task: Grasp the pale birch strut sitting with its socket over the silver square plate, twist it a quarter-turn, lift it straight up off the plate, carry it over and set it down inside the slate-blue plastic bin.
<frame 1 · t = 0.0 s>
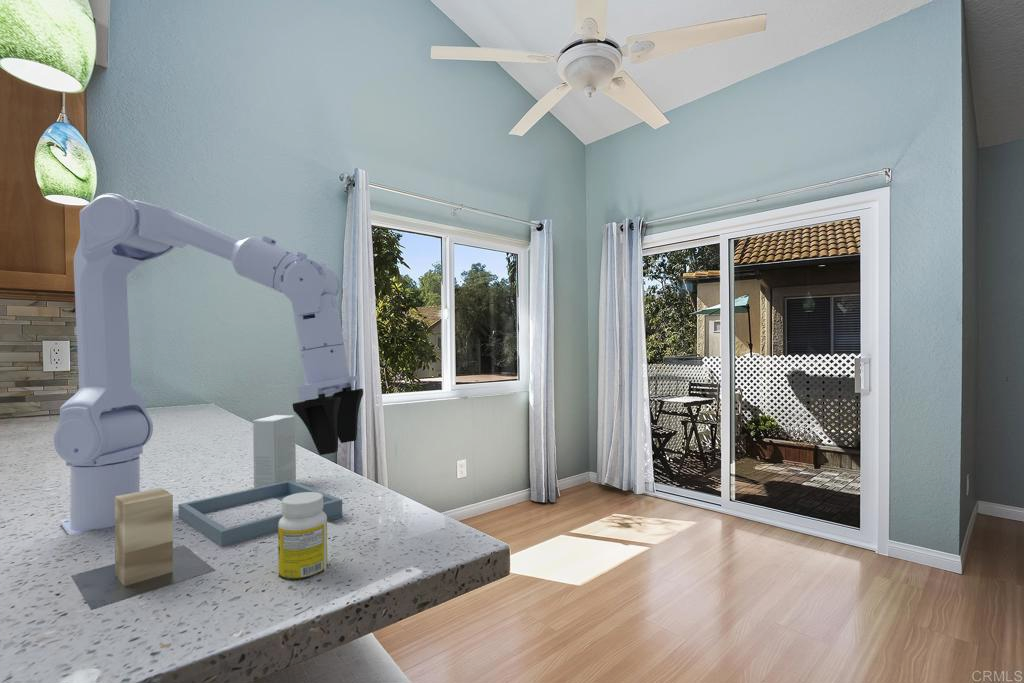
hand: (339, 447, 66), 11 cm above the kitchen counter, tool pointing down, fingers open, 7 cm apart
bin: (261, 519, 68), on the kitchen counter
strut: (143, 572, 51), point 1 cm above the kitchen counter, touching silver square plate
supplement bottle: (303, 579, 51), on the kitchen counter
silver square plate: (143, 580, 51), on the kitchen counter
skincare box: (275, 487, 85), on the kitchen counter
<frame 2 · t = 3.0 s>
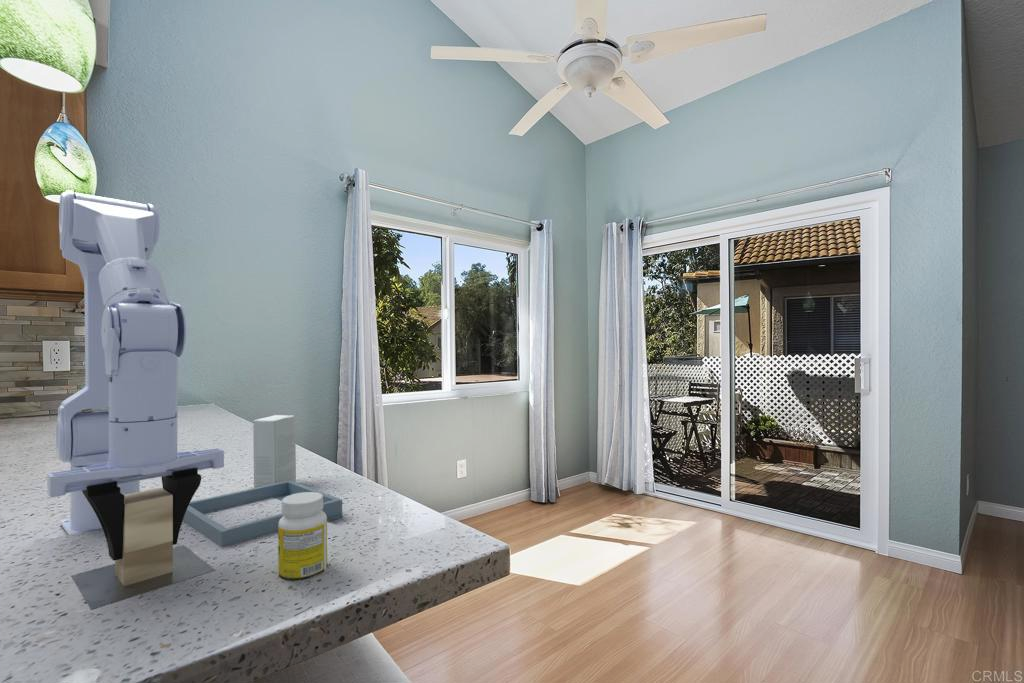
hand: (143, 549, 51), 3 cm above the kitchen counter, tool pointing down, fingers closed on strut, 4 cm apart
strut: (143, 572, 51), point 1 cm above the kitchen counter, touching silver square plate, gripper
everything else where it was.
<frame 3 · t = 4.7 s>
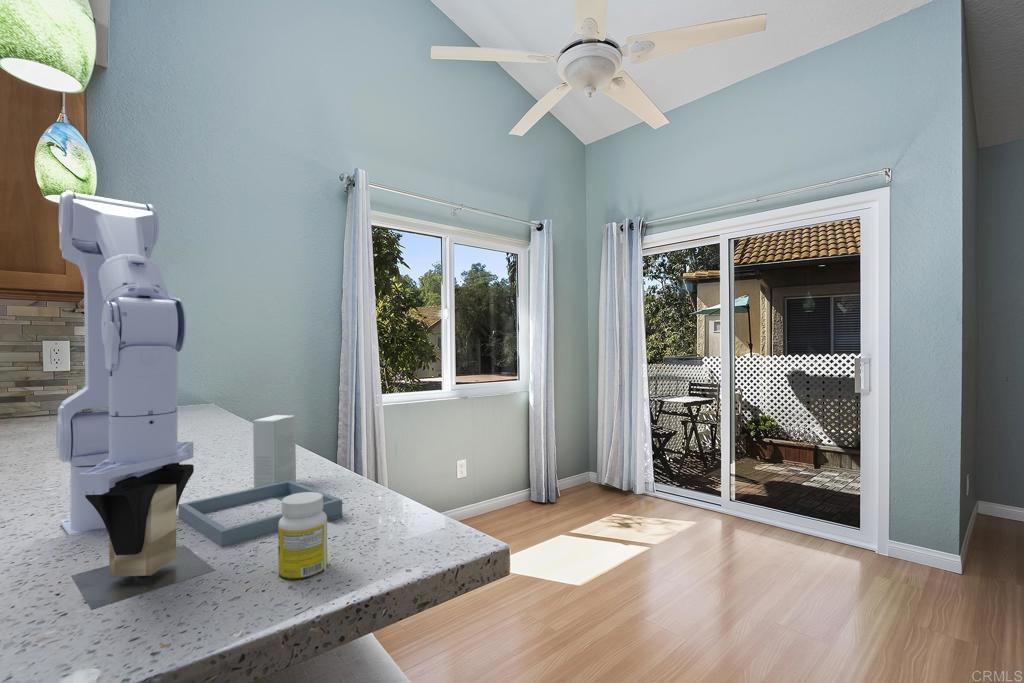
hand: (143, 544, 51), 4 cm above the kitchen counter, tool pointing down, fingers closed on strut, 4 cm apart
strut: (143, 567, 51), point 1 cm above the kitchen counter, touching gripper
everything else where it was.
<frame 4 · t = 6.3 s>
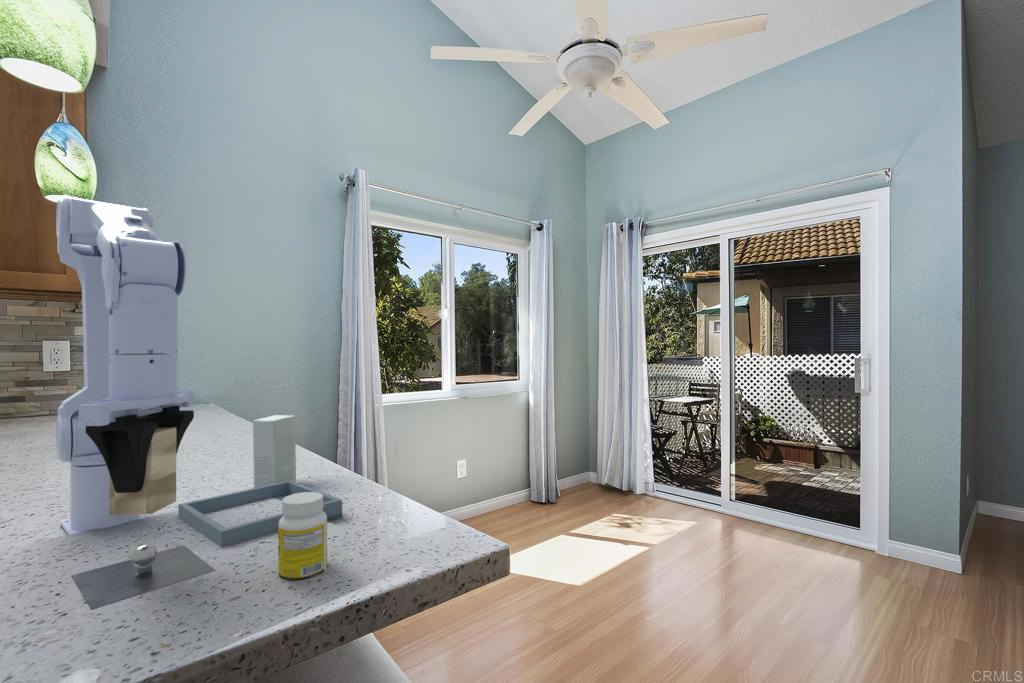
hand: (144, 485, 51), 10 cm above the kitchen counter, tool pointing down, fingers closed on strut, 4 cm apart
strut: (144, 507, 51), point 8 cm above the kitchen counter, touching gripper
everything else where it was.
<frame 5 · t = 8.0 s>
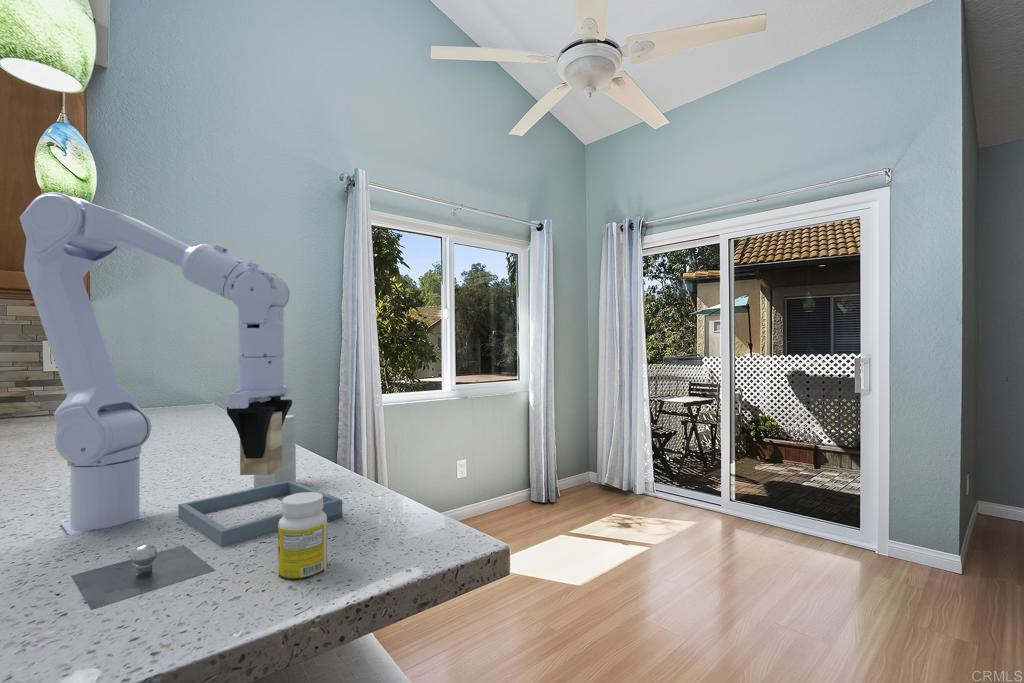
hand: (261, 454, 69), 9 cm above the kitchen counter, tool pointing down, fingers closed on strut, 4 cm apart
strut: (261, 470, 69), point 7 cm above the kitchen counter, touching gripper
everything else where it was.
when the fingers open (5 cm above the kitchen counter, at t = 9.6 s): strut drops 2 cm, resting on bin.
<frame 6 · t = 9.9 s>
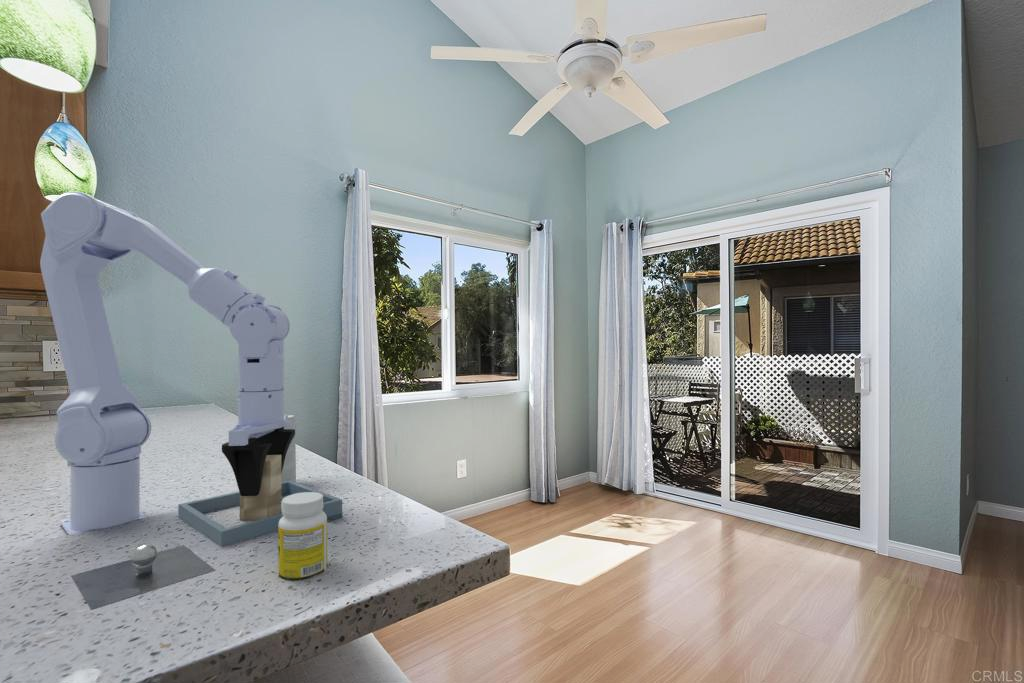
hand: (261, 487, 68), 5 cm above the kitchen counter, tool pointing down, fingers open, 7 cm apart
strut: (261, 515, 68), point 1 cm above the kitchen counter, touching bin
everything else where it was.
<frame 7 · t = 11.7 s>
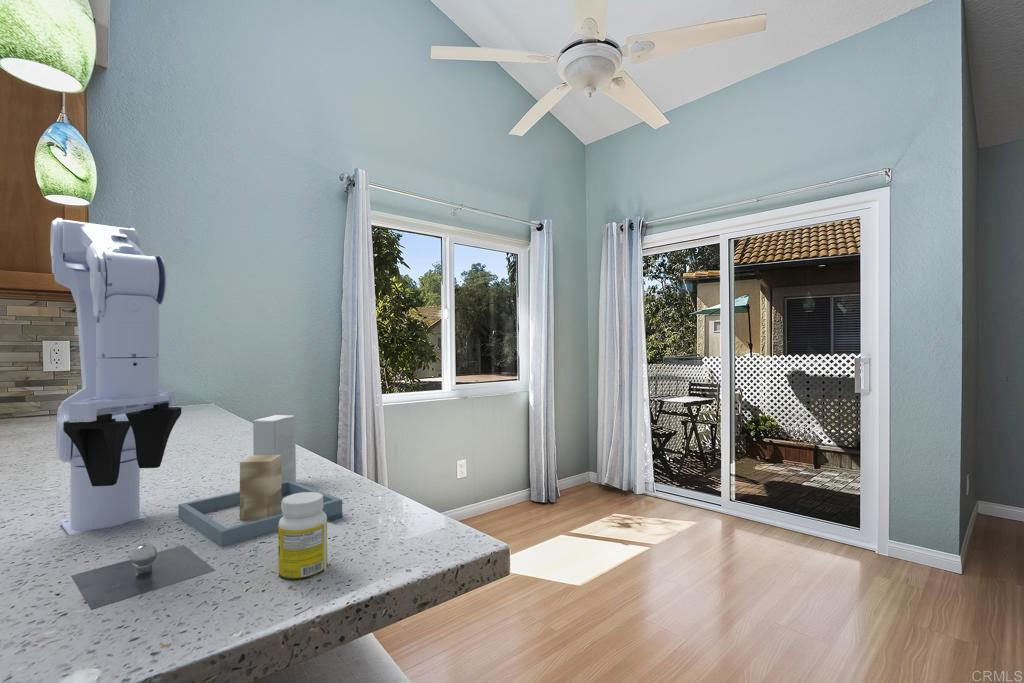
hand: (128, 475, 56), 9 cm above the kitchen counter, tool pointing down, fingers open, 7 cm apart
nothing on the kitchen counter moved.
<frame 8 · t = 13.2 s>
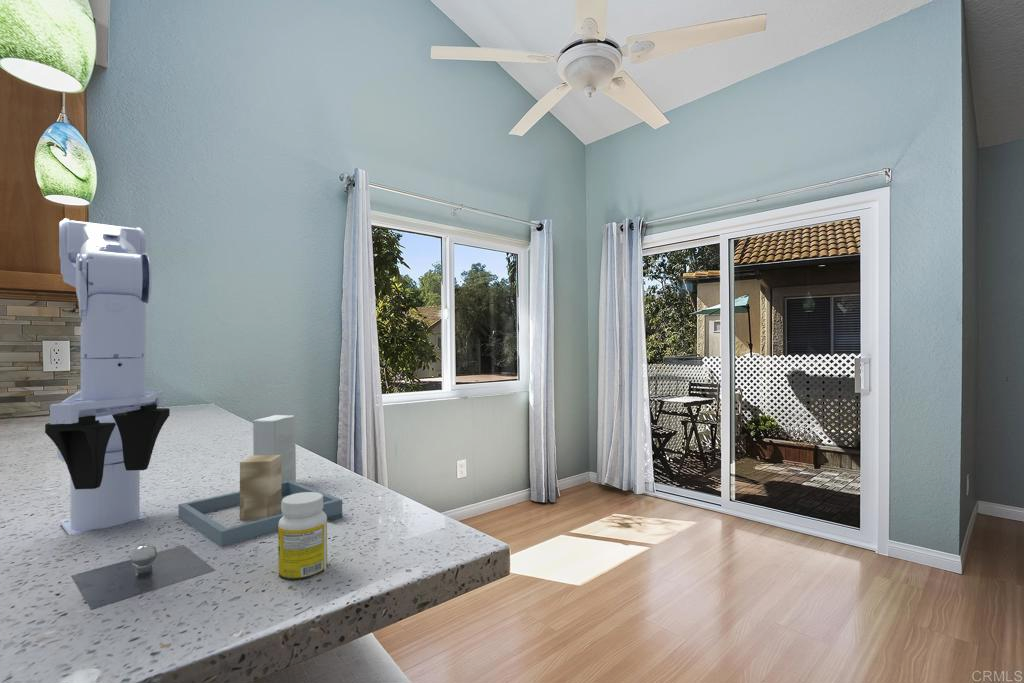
hand: (113, 478, 55), 9 cm above the kitchen counter, tool pointing down, fingers open, 7 cm apart
nothing on the kitchen counter moved.
at the end: strut inside the target area on the bin (0.0 cm from its centre), point 0.6 cm above the bin's base; the gripper is holding nothing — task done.
